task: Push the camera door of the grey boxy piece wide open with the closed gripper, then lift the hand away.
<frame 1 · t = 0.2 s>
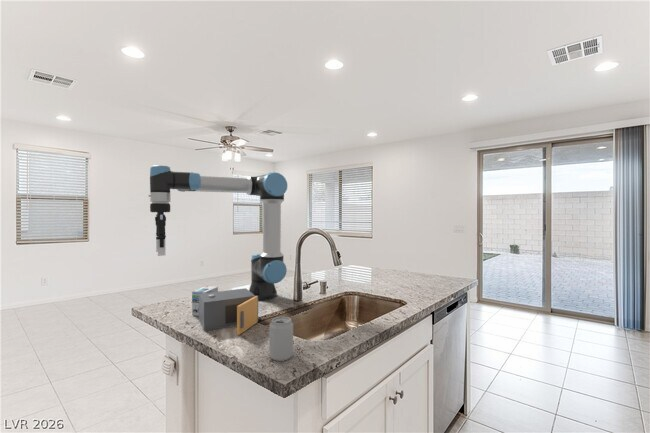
hand: (160, 253, 133), 28 cm above the worktop, tool pointing down, fingers open, 13 cm apart
grey boxy piece: (226, 321, 132), on the worktop
camera door: (249, 314, 123), point 6 cm above the worktop, hinge at 45.0°
light bulb box: (205, 312, 143), on the worktop
can: (281, 357, 100), on the worktop
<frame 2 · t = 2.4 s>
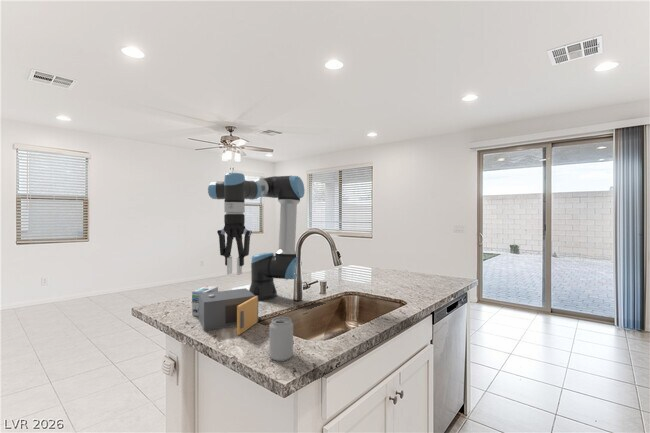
hand: (234, 274, 122), 22 cm above the worktop, tool pointing down, fingers open, 3 cm apart
nothing on the worktop moved.
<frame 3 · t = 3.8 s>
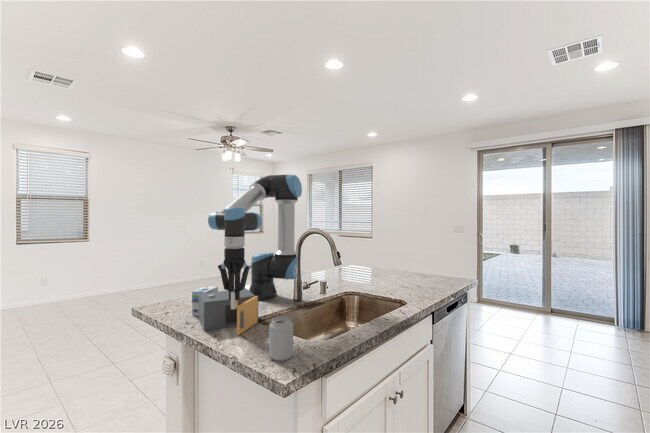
hand: (234, 308, 122), 8 cm above the worktop, tool pointing down, fingers closed
nothing on the worktop moved.
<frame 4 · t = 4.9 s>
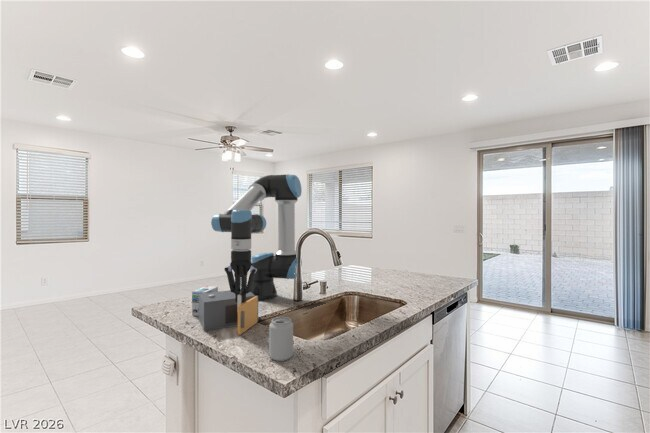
hand: (240, 310, 122), 7 cm above the worktop, tool pointing down, fingers closed
camera door: (249, 314, 123), point 6 cm above the worktop, hinge at 46.0°, touching gripper
everything else where it was.
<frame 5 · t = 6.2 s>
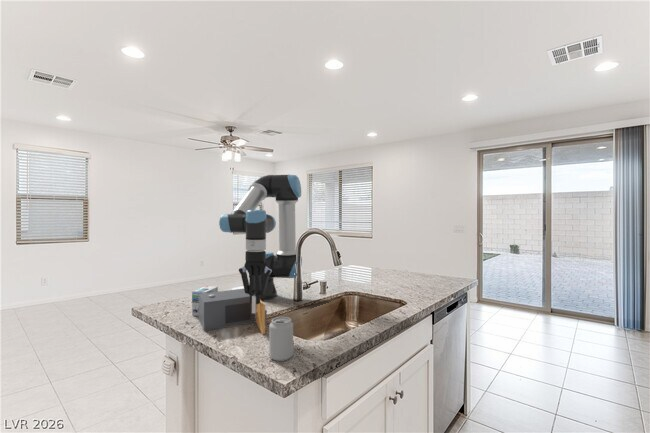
hand: (255, 312, 120), 7 cm above the worktop, tool pointing down, fingers closed
camera door: (260, 313, 124), point 6 cm above the worktop, hinge at 82.5°, touching gripper
everything else where it was.
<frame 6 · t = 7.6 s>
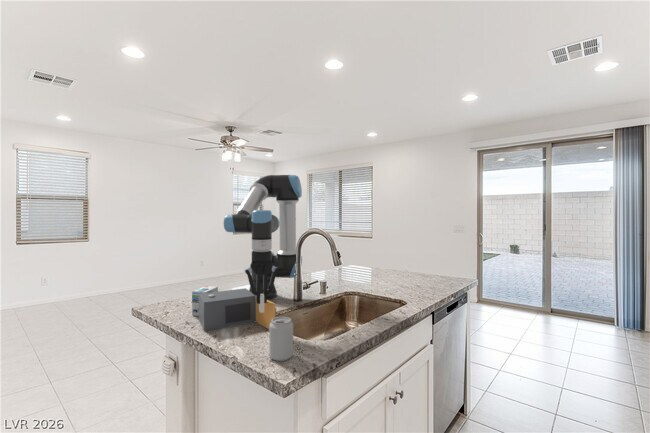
hand: (261, 311, 121), 7 cm above the worktop, tool pointing down, fingers closed
camera door: (265, 312, 125), point 6 cm above the worktop, hinge at 99.6°
everything else where it was.
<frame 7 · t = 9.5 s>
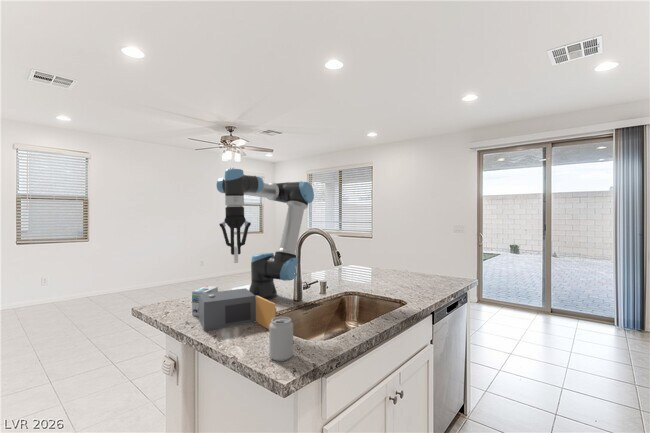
hand: (235, 262, 133), 24 cm above the worktop, tool pointing down, fingers closed
nothing on the worktop moved.
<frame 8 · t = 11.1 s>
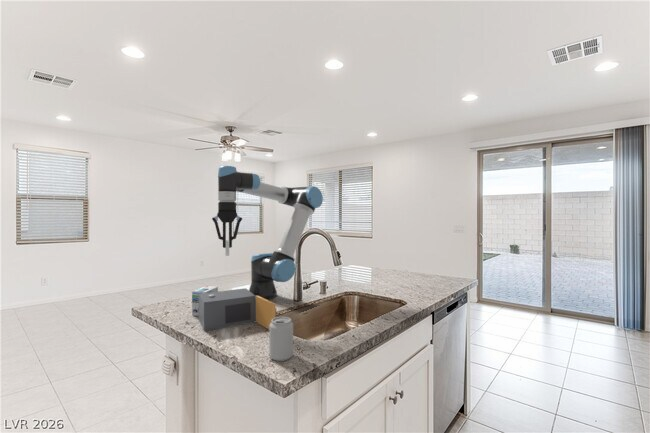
hand: (227, 255, 139), 26 cm above the worktop, tool pointing down, fingers closed
nothing on the worktop moved.
at the end: camera door at +100° (first picture: +45°); light bulb box moved 0.3 cm from its start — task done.
